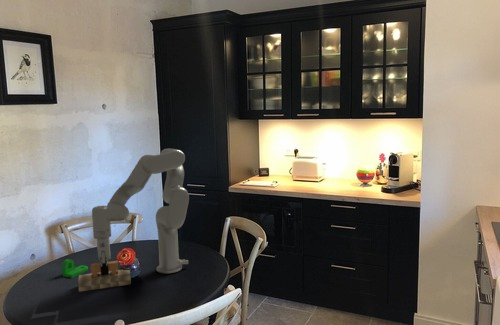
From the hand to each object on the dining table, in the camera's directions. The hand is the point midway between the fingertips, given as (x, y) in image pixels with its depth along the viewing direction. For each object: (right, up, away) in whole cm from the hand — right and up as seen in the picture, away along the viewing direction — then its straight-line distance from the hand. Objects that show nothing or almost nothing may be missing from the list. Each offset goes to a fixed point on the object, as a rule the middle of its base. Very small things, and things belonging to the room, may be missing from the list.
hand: (105, 272), depth 188 cm
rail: (0, -6, +1) cm, 6 cm away
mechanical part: (-19, -5, +16) cm, 26 cm away
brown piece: (0, -4, 0) cm, 3 cm away
